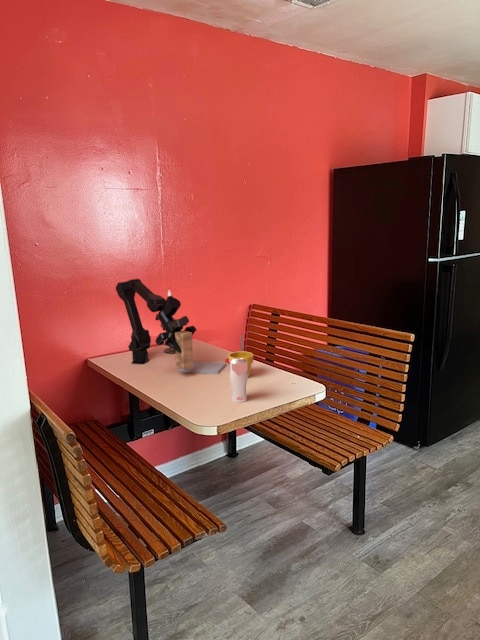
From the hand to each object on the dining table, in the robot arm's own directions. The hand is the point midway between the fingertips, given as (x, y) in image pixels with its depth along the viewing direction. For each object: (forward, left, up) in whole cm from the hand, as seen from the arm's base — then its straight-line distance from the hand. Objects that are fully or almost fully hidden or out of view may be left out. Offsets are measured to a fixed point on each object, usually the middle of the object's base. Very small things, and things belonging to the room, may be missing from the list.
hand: (186, 351), depth 202 cm
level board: (+3, +12, -11) cm, 17 cm away
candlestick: (-22, +36, -12) cm, 44 cm away
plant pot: (+23, +5, -12) cm, 26 cm away
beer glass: (+29, -20, -12) cm, 37 cm away
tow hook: (+14, +26, -12) cm, 32 cm away
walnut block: (-1, +1, -7) cm, 7 cm away
